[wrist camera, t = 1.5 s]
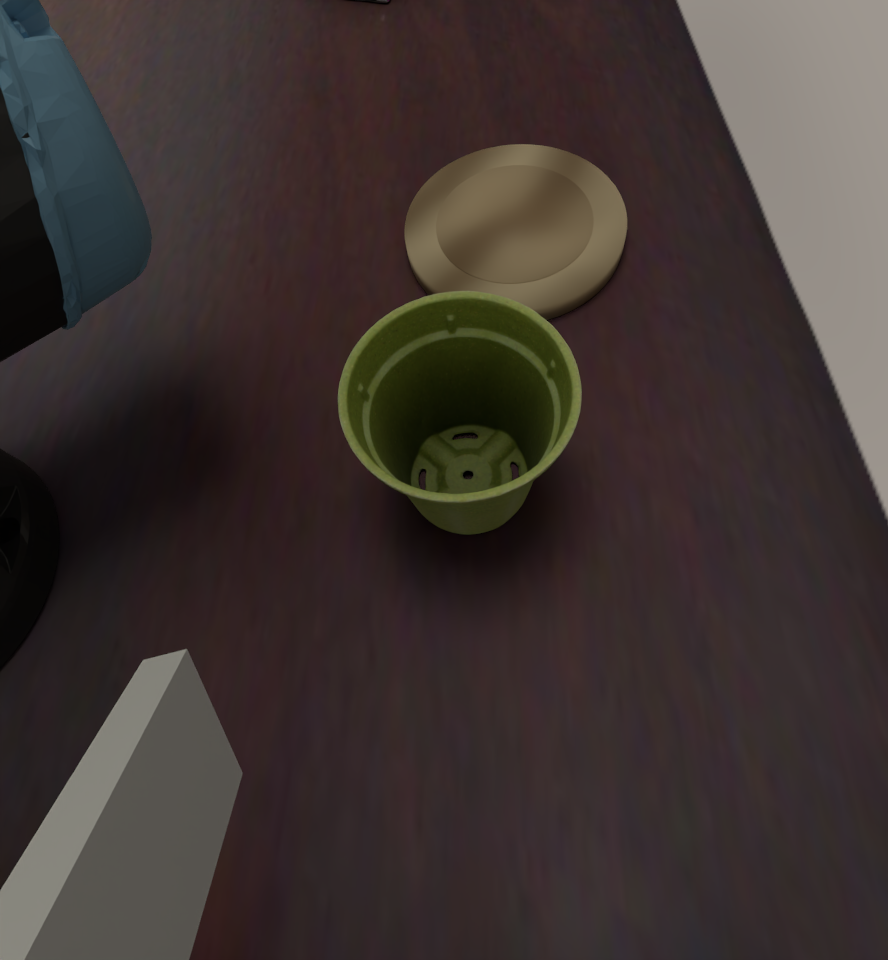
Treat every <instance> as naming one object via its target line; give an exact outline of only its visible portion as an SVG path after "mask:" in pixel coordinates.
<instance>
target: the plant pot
mask: <svg viewBox="0 0 888 960" xmlns="http://www.w3.org/2000/svg"><path fill="white" fill-rule="evenodd" d="M581 396H582V390H581V381H580V376H579V371H578V367H577V365H576V361H575V359H574V357H573V354H572V352H571V350H570V348H569V346H568V345H567V343H566V342H565V340H564V339H563V338H562V336H561V335H560V334H559V332H558V331H557V330H556V329H555V328H554V327H553V326H552V325H551V324H550V323H549V322H548V321H547V320H545V319H544V318H543V317H541V316H540V315H539V314H538V313H537V312H535V311H534V310H532V309H531V308H529V307H527V306H525V305H523V304H521V303H519V302H517V301H514V300H512V299H509V298H506V297H502V296H498V295H495V294H490V293H483V292H476V291H454V292H445V293H437V294H433V295H429V296H425V297H422V298H420V299H417V300H415V301H412V302H410V303H407V304H405V305H403V306H402V307H399V308H397V309H395V310H394V311H392V312H391V313H389V314H388V315H386V316H385V317H383V318H382V319H381V320H379V321H378V322H377V323H376V324H375V325H373V326H372V327H371V328H370V329H369V330H368V331H367V332H366V333H365V334H364V336H363V337H362V338H361V339H360V341H359V342H358V343H357V344H356V346H355V347H354V349H353V350H352V352H351V354H350V356H349V357H348V359H347V362H346V364H345V366H344V369H343V372H342V376H341V379H340V384H339V390H338V411H339V418H340V422H341V426H342V429H343V432H344V434H345V437H346V439H347V441H348V443H349V445H350V447H351V449H352V450H353V452H354V453H355V455H356V456H357V457H358V459H359V460H360V461H361V463H362V464H363V465H364V466H365V467H366V468H367V469H368V470H369V471H370V472H371V473H372V474H373V475H374V476H375V477H377V478H378V479H379V480H380V481H382V482H383V483H385V484H386V485H388V486H389V487H391V488H393V489H395V490H397V491H399V492H400V493H403V494H405V495H407V496H408V498H409V499H410V500H411V501H412V503H413V504H414V505H415V507H416V508H417V509H418V510H419V512H420V513H421V514H422V515H423V516H424V517H425V518H426V519H427V520H429V521H430V522H431V523H433V524H434V525H436V526H437V527H439V528H441V529H443V530H446V531H448V532H452V533H457V534H467V535H471V534H479V533H483V532H487V531H491V530H493V529H496V528H498V527H499V526H501V525H503V524H504V523H505V522H507V521H508V520H509V519H510V518H511V517H512V516H513V515H514V514H515V513H516V512H517V511H518V510H519V509H520V507H521V506H522V505H523V503H524V501H525V499H526V497H527V495H528V493H529V490H530V488H531V486H532V483H533V481H534V480H535V479H536V478H537V477H539V476H540V475H541V474H542V473H544V472H545V471H546V470H547V469H548V468H549V467H550V466H551V465H552V464H553V463H554V462H555V461H556V460H557V459H558V457H559V456H560V455H561V453H562V452H563V450H564V449H565V447H566V446H567V444H568V442H569V440H570V439H571V437H572V435H573V432H574V430H575V427H576V425H577V421H578V418H579V414H580V408H581ZM462 433H475V434H477V435H478V438H477V439H468V438H462V439H456V440H453V439H452V438H453V437H454V435H457V434H462ZM511 462H514V463H516V465H517V466H518V468H519V478H517V479H515V480H513V481H512V470H511V467H510V464H511ZM422 469H425V470H426V479H425V483H426V484H425V485H426V488H425V489H426V490H422V489H420V486H419V480H418V479H419V473H420V471H421V470H422ZM465 471H471V472H473V477H472V478H471V479H465V478H464V477H463V473H464V472H465Z"/></svg>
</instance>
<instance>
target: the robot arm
mask: <svg viewBox="0 0 888 960" xmlns="http://www.w3.org/2000/svg"><path fill="white" fill-rule="evenodd" d="M151 239H152V235H151V229H150V225H149V221H148V217H147V214H146V211H145V208H144V205H143V202H142V200H141V198H140V195H139V193H138V190H137V188H136V186H135V183H134V181H133V179H132V176H131V174H130V172H129V170H128V168H127V165H126V163H125V161H124V159H123V157H122V155H121V153H120V150H119V148H118V146H117V144H116V142H115V140H114V138H113V136H112V134H111V132H110V130H109V128H108V126H107V124H106V122H105V120H104V118H103V116H102V114H101V112H100V110H99V108H98V106H97V104H96V102H95V100H94V98H93V96H92V94H91V92H90V90H89V88H88V86H87V84H86V82H85V80H84V79H83V77H82V75H81V73H80V71H79V69H78V68H77V66H76V64H75V62H74V60H73V58H72V57H71V55H70V53H69V51H68V49H67V48H66V46H65V44H64V42H63V41H62V39H61V38H60V37H59V36H58V34H57V33H56V32H55V31H54V30H53V29H52V28H51V26H50V24H49V18H48V16H47V14H46V12H45V10H44V8H43V7H42V5H41V3H40V2H39V0H0V362H1V361H3V360H5V359H7V358H8V357H10V356H12V355H14V354H15V353H17V352H19V351H20V350H22V349H24V348H26V347H27V346H29V345H31V344H33V343H34V342H36V341H38V340H39V339H41V338H43V337H45V336H46V335H48V334H50V333H52V332H53V331H55V330H57V329H58V328H60V327H62V328H63V329H70V328H72V327H74V326H75V325H76V324H77V323H78V321H79V320H80V319H81V317H82V314H83V313H84V312H86V311H88V310H89V309H91V308H92V307H94V306H95V305H97V304H98V303H100V302H102V301H103V300H105V299H106V298H108V297H109V296H111V295H112V294H114V293H115V292H117V291H119V290H120V289H122V288H123V287H125V286H126V285H128V284H129V283H131V282H132V281H134V280H135V279H136V278H137V277H138V276H139V275H140V274H141V273H142V272H143V270H144V269H145V267H146V265H147V262H148V259H149V255H150V252H151ZM58 551H59V525H58V518H57V513H56V509H55V506H54V503H53V500H52V498H51V495H50V493H49V491H48V490H47V488H46V486H45V485H44V483H43V482H42V480H41V479H40V478H39V477H38V475H37V474H36V473H35V472H34V471H33V470H32V469H31V468H30V467H28V466H27V465H26V464H24V463H23V462H21V461H20V460H18V459H16V458H15V457H13V456H11V455H10V454H8V453H6V452H5V451H3V450H1V449H0V667H1V666H2V665H3V664H4V663H5V662H6V661H7V659H8V658H9V657H10V656H11V655H12V654H13V652H14V651H15V650H16V649H17V647H18V646H19V645H20V643H21V642H22V640H23V639H24V638H25V636H26V635H27V633H28V632H29V630H30V628H31V627H32V625H33V624H34V622H35V620H36V618H37V616H38V614H39V613H40V611H41V608H42V606H43V604H44V602H45V600H46V597H47V595H48V592H49V590H50V587H51V584H52V581H53V577H54V573H55V569H56V564H57V559H58ZM242 774H243V773H242V771H241V768H240V766H239V764H238V762H237V759H236V757H235V755H234V753H233V751H232V748H231V746H230V744H229V742H228V739H227V737H226V735H225V733H224V730H223V728H222V726H221V724H220V721H219V719H218V717H217V715H216V712H215V710H214V708H213V706H212V704H211V701H210V699H209V697H208V695H207V692H206V690H205V688H204V686H203V683H202V681H201V679H200V677H199V674H198V672H197V670H196V668H195V665H194V663H193V661H192V659H191V657H190V654H189V652H188V650H187V649H185V650H181V651H177V652H173V653H169V654H165V655H161V656H157V657H153V658H149V659H145V660H143V661H142V662H141V664H140V666H139V667H138V669H137V671H136V672H135V674H134V675H133V677H132V679H131V680H130V682H129V683H128V685H127V687H126V688H125V690H124V692H123V693H122V695H121V696H120V698H119V700H118V701H117V703H116V704H115V706H114V708H113V709H112V711H111V713H110V714H109V716H108V717H107V719H106V721H105V722H104V724H103V725H102V727H101V729H100V730H99V732H98V734H97V735H96V737H95V738H94V740H93V742H92V743H91V745H90V746H89V748H88V750H87V751H86V753H85V755H84V756H83V758H82V759H81V761H80V763H79V764H78V766H77V767H76V769H75V771H74V772H73V774H72V775H71V777H70V779H69V780H68V782H67V784H66V785H65V787H64V788H63V790H62V792H61V793H60V795H59V796H58V798H57V800H56V801H55V803H54V805H53V806H52V808H51V809H50V811H49V813H48V814H47V816H46V817H45V819H44V821H43V822H42V824H41V826H40V827H39V829H38V830H37V832H36V834H35V835H34V837H33V838H32V840H31V842H30V843H29V845H28V847H27V848H26V850H25V851H24V853H23V855H22V856H21V858H20V859H19V861H18V863H17V864H16V866H15V868H14V869H13V871H12V872H11V874H10V876H9V877H8V879H7V880H6V882H5V884H4V885H3V887H2V889H1V890H0V960H189V958H190V955H191V951H192V948H193V944H194V941H195V937H196V934H197V930H198V927H199V923H200V920H201V916H202V913H203V909H204V906H205V902H206V899H207V895H208V892H209V888H210V885H211V882H212V878H213V875H214V871H215V868H216V864H217V861H218V857H219V854H220V850H221V847H222V843H223V840H224V836H225V833H226V829H227V826H228V822H229V819H230V815H231V812H232V809H233V805H234V802H235V798H236V795H237V791H238V788H239V784H240V781H241V777H242Z"/></svg>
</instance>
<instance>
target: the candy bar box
mask: <svg viewBox="0 0 888 960" xmlns="http://www.w3.org/2000/svg"><path fill="white" fill-rule="evenodd" d="M357 1H371V2H382V3H388V2H389V1H390V0H357Z"/></svg>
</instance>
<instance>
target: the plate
mask: <svg viewBox="0 0 888 960" xmlns="http://www.w3.org/2000/svg"><path fill="white" fill-rule="evenodd" d="M626 232H627V214H626V209H625V205H624V202H623V200H622V197H621V195H620V193H619V191H618V190H617V188H616V186H615V185H614V184H613V183H612V181H611V180H610V179H609V178H608V177H607V176H606V175H605V174H604V173H603V172H602V171H601V170H600V169H599V168H597V167H596V166H594V165H593V164H591V163H590V162H588V161H587V160H585V159H583V158H581V157H579V156H577V155H574V154H572V153H569V152H567V151H563V150H560V149H556V148H552V147H546V146H541V145H528V144H518V145H504V146H497V147H492V148H487V149H484V150H480V151H477V152H473V153H471V154H469V155H466V156H464V157H461V158H459V159H457V160H455V161H454V162H452V163H450V164H448V165H447V166H445V167H444V168H442V169H441V170H439V171H438V172H437V173H436V174H435V175H433V176H432V177H431V178H430V179H429V180H428V181H427V182H426V183H425V184H424V185H423V186H422V188H421V189H420V190H419V192H418V193H417V195H416V196H415V198H414V200H413V201H412V203H411V205H410V208H409V211H408V214H407V217H406V222H405V242H406V248H407V253H408V258H409V263H410V266H411V268H412V271H413V274H414V276H415V277H416V279H417V281H418V283H419V284H420V285H421V287H422V288H423V289H424V290H425V292H426V293H427V294H428V295H433V294H437V293H445V292H454V291H476V292H483V293H490V294H495V295H498V296H502V297H506V298H509V299H512V300H514V301H517V302H519V303H521V304H523V305H525V306H527V307H529V308H531V309H532V310H534V311H535V312H537V313H538V314H539V315H540V316H541V317H543V318H544V319H545V320H549V319H552V318H555V317H558V316H561V315H563V314H565V313H568V312H570V311H572V310H574V309H576V308H578V307H579V306H581V305H583V304H584V303H586V302H587V301H588V300H590V299H591V298H592V297H594V296H595V295H596V294H597V293H598V292H599V291H600V290H601V289H602V288H603V287H604V286H605V285H606V284H607V282H608V281H609V280H610V278H611V277H612V276H613V274H614V272H615V270H616V268H617V266H618V264H619V261H620V259H621V256H622V252H623V247H624V243H625V238H626Z"/></svg>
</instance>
